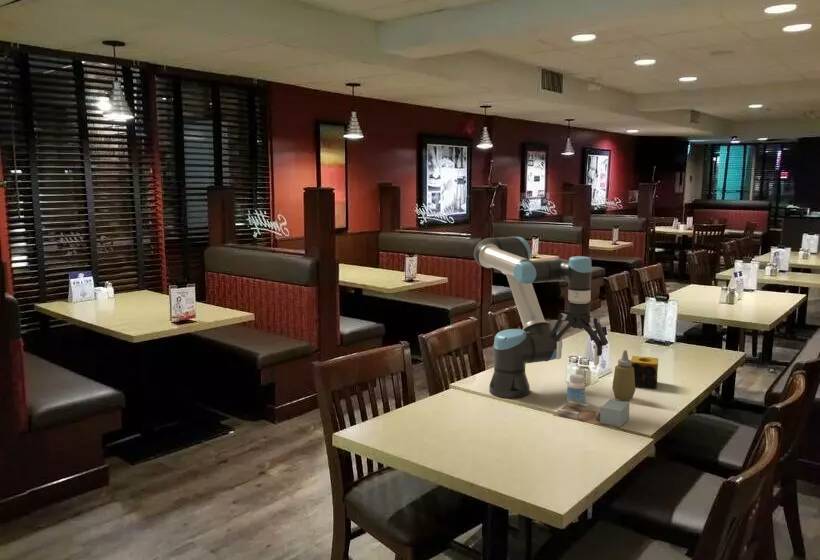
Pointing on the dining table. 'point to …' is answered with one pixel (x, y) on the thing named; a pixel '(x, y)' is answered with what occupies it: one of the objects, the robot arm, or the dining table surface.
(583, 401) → the pill bottle
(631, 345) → the dining table surface
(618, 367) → the squeeze bottle
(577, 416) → the board
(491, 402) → the dining table surface
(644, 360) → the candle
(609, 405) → the cover
